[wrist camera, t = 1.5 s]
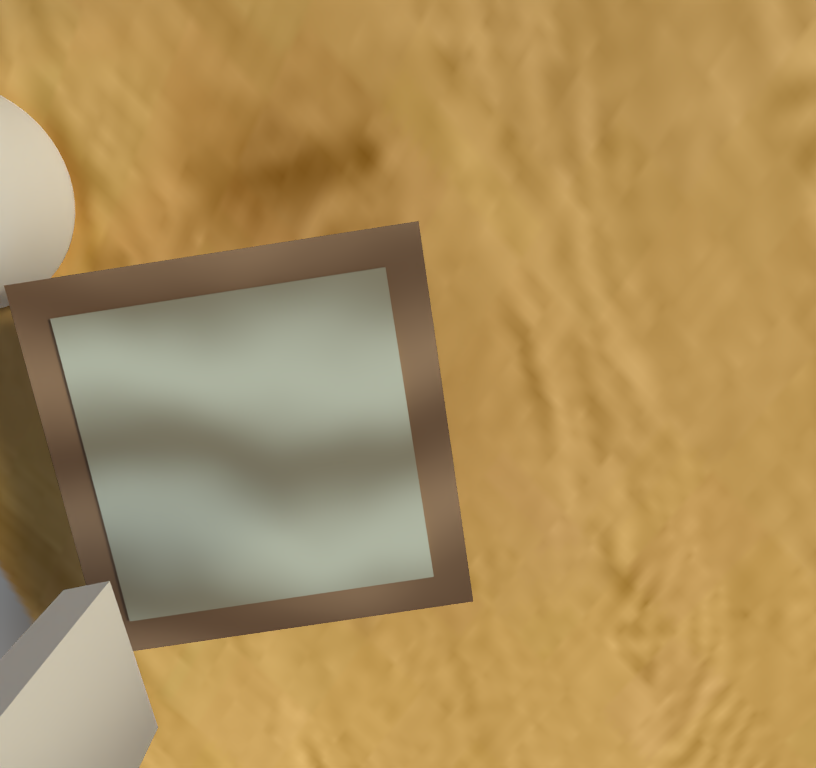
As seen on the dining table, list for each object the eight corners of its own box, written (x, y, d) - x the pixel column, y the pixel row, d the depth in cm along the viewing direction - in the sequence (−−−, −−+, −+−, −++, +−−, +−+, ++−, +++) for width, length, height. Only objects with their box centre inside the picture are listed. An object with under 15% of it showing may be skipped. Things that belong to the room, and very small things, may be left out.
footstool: (83, 273, 34) (1, 286, 27) (413, 222, 34) (418, 221, 27) (158, 576, 37) (103, 657, 30) (458, 532, 37) (473, 603, 30)
